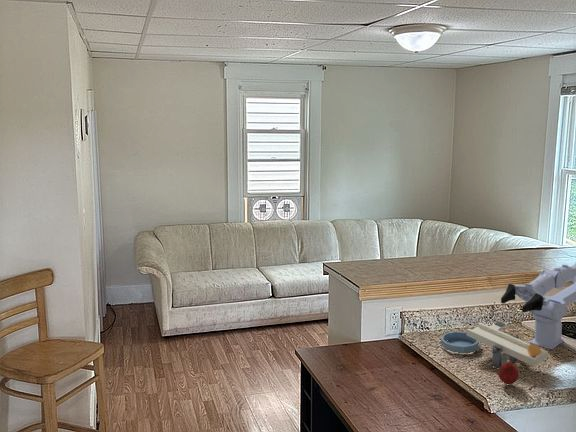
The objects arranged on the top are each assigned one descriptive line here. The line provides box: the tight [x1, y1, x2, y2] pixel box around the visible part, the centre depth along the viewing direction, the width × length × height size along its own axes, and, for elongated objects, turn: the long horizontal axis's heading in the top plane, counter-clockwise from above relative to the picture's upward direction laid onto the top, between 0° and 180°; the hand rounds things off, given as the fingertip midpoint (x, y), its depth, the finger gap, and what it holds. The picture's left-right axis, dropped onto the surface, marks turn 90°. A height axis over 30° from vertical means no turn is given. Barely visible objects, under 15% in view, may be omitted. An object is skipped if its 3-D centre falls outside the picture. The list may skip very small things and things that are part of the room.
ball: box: [527, 343, 542, 357], centre depth 179 cm, size 4×4×4 cm
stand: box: [489, 334, 520, 368], centre depth 186 cm, size 14×4×7 cm, turn 131°
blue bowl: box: [440, 330, 480, 353], centre depth 200 cm, size 12×12×3 cm
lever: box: [466, 320, 549, 367], centre depth 189 cm, size 17×24×3 cm
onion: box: [497, 360, 520, 385], centre depth 172 cm, size 6×6×8 cm
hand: (512, 305), depth 184 cm, fingers open, 7 cm apart
